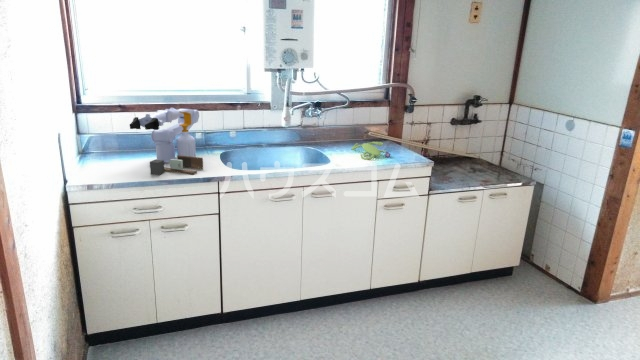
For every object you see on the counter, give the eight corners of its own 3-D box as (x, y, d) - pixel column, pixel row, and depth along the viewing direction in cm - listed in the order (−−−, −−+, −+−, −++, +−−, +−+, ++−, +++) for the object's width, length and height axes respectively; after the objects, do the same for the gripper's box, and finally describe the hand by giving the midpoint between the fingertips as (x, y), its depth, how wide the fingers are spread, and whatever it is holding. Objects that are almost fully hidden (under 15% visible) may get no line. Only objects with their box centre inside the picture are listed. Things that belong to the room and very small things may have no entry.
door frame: (169, 165, 224) (169, 154, 223) (204, 168, 220) (203, 157, 218) (157, 170, 215) (157, 159, 213) (193, 174, 211) (193, 163, 209)
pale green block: (171, 168, 215) (171, 158, 214) (183, 169, 214) (182, 160, 212) (169, 169, 214) (168, 159, 212) (181, 170, 212) (180, 161, 211)
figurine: (379, 148, 274) (379, 139, 272) (395, 160, 249) (396, 150, 248) (349, 149, 270) (349, 139, 269) (362, 160, 245) (363, 150, 244)
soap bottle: (174, 159, 234) (170, 111, 227) (185, 155, 242) (182, 109, 235) (188, 161, 231) (185, 113, 223) (199, 157, 239) (196, 110, 231)
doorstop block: (156, 171, 213) (155, 159, 211) (164, 172, 212) (163, 160, 210) (150, 174, 209) (149, 161, 207) (159, 175, 208) (158, 162, 206)
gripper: (139, 111, 220) (122, 117, 207) (167, 112, 217) (151, 118, 204) (141, 126, 222) (124, 132, 210) (169, 127, 219) (153, 134, 207)
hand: (138, 127), depth 207 cm, fingers open, 7 cm apart
